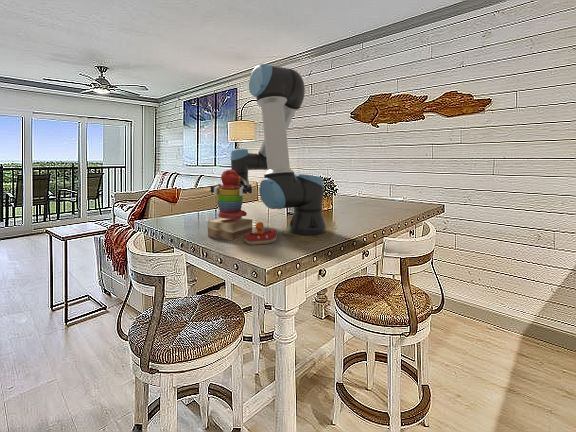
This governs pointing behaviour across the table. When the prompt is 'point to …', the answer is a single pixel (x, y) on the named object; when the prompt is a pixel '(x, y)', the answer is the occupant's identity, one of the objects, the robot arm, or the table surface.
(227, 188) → the stacking bear
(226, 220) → the pedestal
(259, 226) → the toy boat
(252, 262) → the table surface
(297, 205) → the robot arm
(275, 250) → the table surface
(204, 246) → the table surface
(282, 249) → the table surface
